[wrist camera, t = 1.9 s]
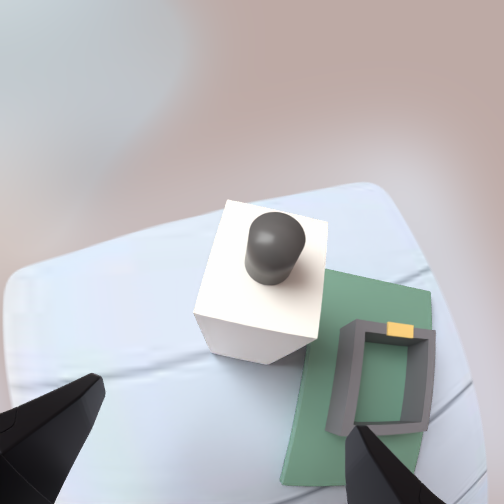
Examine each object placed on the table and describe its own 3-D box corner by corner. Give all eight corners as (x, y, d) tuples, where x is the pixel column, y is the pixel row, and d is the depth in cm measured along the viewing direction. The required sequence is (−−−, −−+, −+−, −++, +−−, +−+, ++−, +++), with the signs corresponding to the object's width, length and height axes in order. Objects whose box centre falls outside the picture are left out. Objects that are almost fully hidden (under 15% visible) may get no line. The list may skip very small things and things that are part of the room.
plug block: (267, 364, 20) (338, 325, 7) (211, 352, 20) (185, 294, 7) (278, 304, 22) (343, 193, 10) (225, 293, 22) (228, 166, 10)
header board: (405, 473, 15) (434, 481, 11) (279, 480, 15) (292, 500, 11) (423, 295, 24) (450, 278, 20) (316, 273, 24) (333, 249, 20)
